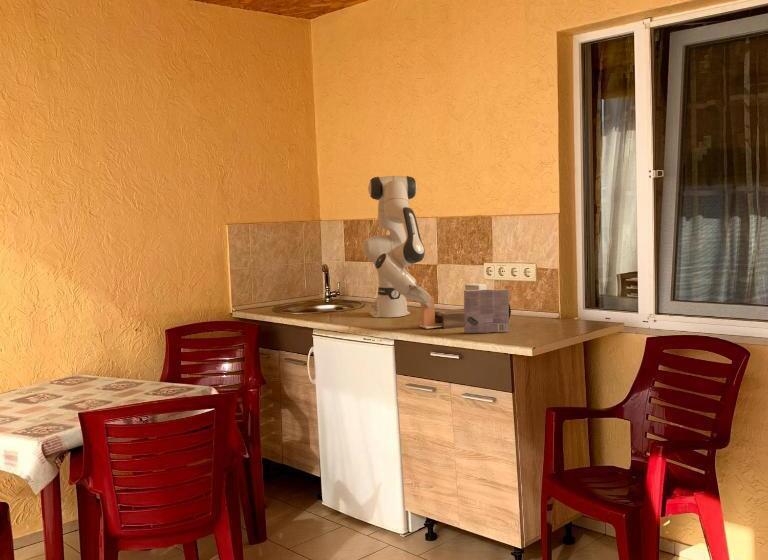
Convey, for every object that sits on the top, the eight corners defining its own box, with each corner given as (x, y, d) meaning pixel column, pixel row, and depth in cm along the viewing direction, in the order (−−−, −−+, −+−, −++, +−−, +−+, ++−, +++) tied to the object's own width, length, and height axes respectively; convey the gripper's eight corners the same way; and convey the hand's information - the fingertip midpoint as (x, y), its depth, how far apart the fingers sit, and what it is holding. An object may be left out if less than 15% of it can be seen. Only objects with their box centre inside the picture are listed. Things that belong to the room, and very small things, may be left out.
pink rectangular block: (419, 326, 355) (418, 297, 354) (463, 321, 363) (462, 293, 361) (426, 328, 348) (425, 299, 347) (471, 323, 355) (469, 295, 354)
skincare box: (464, 318, 378) (463, 284, 376) (473, 316, 383) (472, 282, 381) (479, 319, 372) (478, 285, 371) (488, 317, 377) (487, 283, 375)
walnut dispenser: (432, 325, 360) (431, 309, 359) (469, 321, 366) (468, 306, 366) (444, 328, 348) (443, 313, 348) (482, 324, 355) (481, 309, 354)
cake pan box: (511, 330, 337) (509, 287, 335) (512, 332, 332) (511, 289, 330) (464, 332, 338) (462, 289, 336) (465, 334, 333) (463, 291, 331)
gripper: (419, 280, 338) (442, 302, 343) (401, 277, 357) (423, 297, 362) (410, 292, 337) (433, 313, 342) (392, 288, 356) (414, 308, 361)
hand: (427, 305), depth 352 cm, fingers closed on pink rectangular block, 3 cm apart
